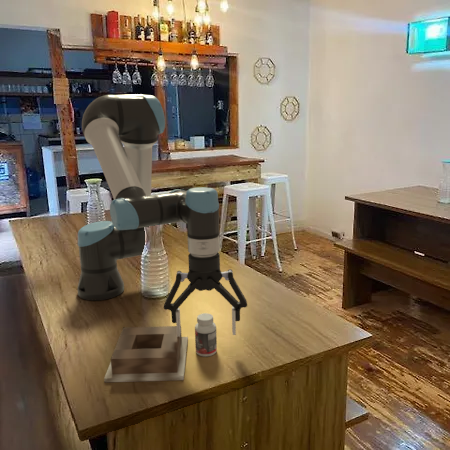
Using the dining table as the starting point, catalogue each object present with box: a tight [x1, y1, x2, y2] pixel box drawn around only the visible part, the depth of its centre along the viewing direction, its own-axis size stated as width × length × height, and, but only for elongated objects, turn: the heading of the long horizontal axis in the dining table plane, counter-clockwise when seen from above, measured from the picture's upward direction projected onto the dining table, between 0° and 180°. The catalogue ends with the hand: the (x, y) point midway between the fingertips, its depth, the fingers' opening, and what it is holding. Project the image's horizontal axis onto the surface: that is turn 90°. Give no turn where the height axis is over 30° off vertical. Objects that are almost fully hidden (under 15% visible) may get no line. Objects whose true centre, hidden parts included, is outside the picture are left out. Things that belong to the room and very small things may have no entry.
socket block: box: [103, 325, 189, 383], centre depth 111 cm, size 18×18×5 cm
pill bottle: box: [194, 312, 218, 358], centre depth 114 cm, size 5×5×10 cm
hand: (206, 333), depth 113 cm, fingers open, 13 cm apart
